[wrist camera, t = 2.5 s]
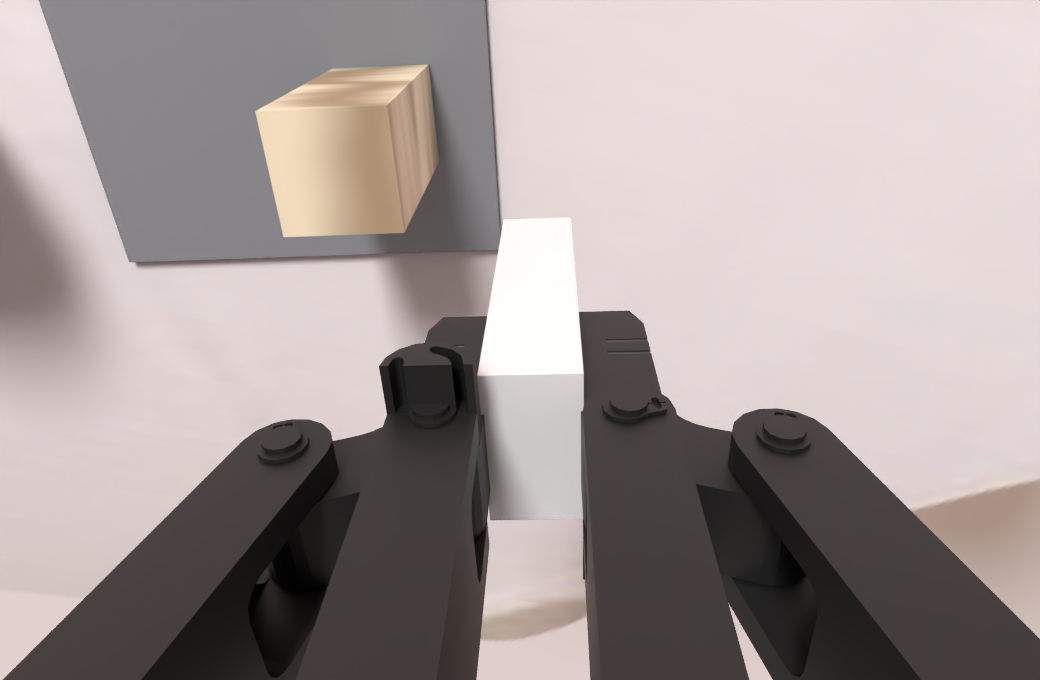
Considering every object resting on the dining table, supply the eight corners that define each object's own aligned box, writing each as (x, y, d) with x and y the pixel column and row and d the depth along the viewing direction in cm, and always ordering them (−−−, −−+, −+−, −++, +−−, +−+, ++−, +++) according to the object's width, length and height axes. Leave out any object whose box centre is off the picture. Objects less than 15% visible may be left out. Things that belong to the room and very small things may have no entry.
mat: (133, 259, 38) (129, 262, 37) (-5, -143, 29) (-11, -144, 28) (501, 247, 37) (500, 249, 36) (474, -173, 28) (473, -175, 28)
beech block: (349, 165, 34) (283, 237, 26) (332, 68, 32) (255, 111, 23) (439, 161, 34) (404, 233, 25) (429, 64, 32) (387, 105, 23)
